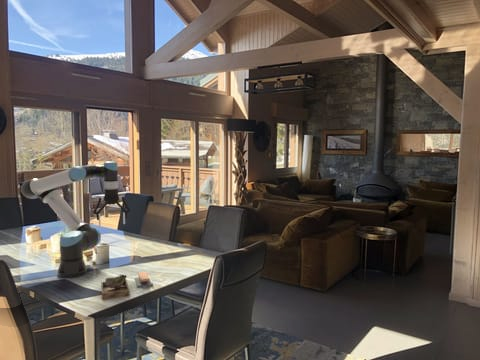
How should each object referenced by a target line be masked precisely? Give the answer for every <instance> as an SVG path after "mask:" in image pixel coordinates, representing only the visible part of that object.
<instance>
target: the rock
mask: <svg viewBox="0 0 480 360" xmlns="http://www.w3.org/2000/svg"><path fill="white" fill-rule="evenodd" d="M127 277H128V276H127V275H126V274H120V275H119V276H115V277H106V278H105V281H104V282H105V283H104V285H105V286H108V287H110V288H115V289H116V288H120V287H121V286H122V284H123V282H124V281H125V279H127Z"/></svg>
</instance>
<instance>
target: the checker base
mask: <svg viewBox="0 0 480 360" xmlns="http://www.w3.org/2000/svg"><path fill="white" fill-rule="evenodd" d="M148 277H149V281H142V282H141V281H140V278H139V277H134V281H135V286H136V288H137V289H139V287H140V288H146V287H147V286H148V287H154V283H153V280H152V278H151V276H150V274H148Z"/></svg>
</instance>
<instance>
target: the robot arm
mask: <svg viewBox="0 0 480 360" xmlns="http://www.w3.org/2000/svg"><path fill="white" fill-rule="evenodd" d="M118 174H119V166H118V162H117V161H104V162H103V164H87V165H76V166H72V167H71V168H70V169H66V170H63V171H60V172H56V173H54V174H50V175H47V176H44V177H41V178H31V179H28V180H25V181H23V183H22V185H21V187H20V192H21V194H22V196H24V197H25V198H27V199H30V200H33V199H40V201H42V203H44V204H48V205H49V207H50V208H51V210H52V211H54V213H55V214H56V215H57V216H58V218H59V219H60V220H61V222H62V223H63V224H64V225H65V226H66V228H67V229H68V230H69V231H67V232H64V233H62V234H61V235H60V237H59V249H60V250H59V251H60V252H59V254H60V263H59V266H58V269H57V277H59V278H63V279H72V278H78V277H82V276H83V275H85V274H86V273H87V272H88V270H87V266H86V263H85V260H84V252H87V251H88V250H90V249H93V248H95V247H96V246H99V244H100V243H101V239H102V235H101V232H100V230H99V229H98V228H97V227H92V226H90V224H89V223H87V222H84V221H83V220H82V219H81V217H80V216H79V215H78V214H77V213H76V212H75V210H74V209H73V208H72V207H71V206H70V205H69V203H68V202H67V201H66V200H65V199H64V197H63V196H62V195H61V192H62V191H61V187H63V186H66V185H69V184H73V183H76V182H80V181H83V180H90V179H95V178H96V179H97V178H99V179H101V178H102V179H103V183H104V184H103V185H104V189H103V191H104V193H103V194H104V197H102V196H99V197H98V200H97V203H96V205H95V207H94V209H93V211H92V213H93V214H94V215H96V220H97V221H98V227H99V226H100V227H101V212H102V211H103V210H104V209H105V208H106V206H107V205H109V206H111V205H117V206H118V207H119V208H120V209H121V210H122V211H123V213H122V214H123V215H122V217H123V218H122V221H123V223H122V224H123V225H126V219H128V213H130V212H131V209H130V208H129V206H128V204H127V203H126V202H127V201H126V200H125V197H124V195H122V196H119V189H118V188H119V175H118ZM103 200H104V203H103V204H102V205H101V203H102V201H103ZM119 200H120V201H121V202H122V203H123V204H124V206H125V208H124V207H123V206H122V204H120V202H119ZM100 205H101V206H100ZM99 206H100V208H99ZM98 208H99V209H98Z"/></svg>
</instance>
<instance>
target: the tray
mask: <svg viewBox="0 0 480 360" xmlns="http://www.w3.org/2000/svg"><path fill="white" fill-rule="evenodd" d="M105 282H106V281H101V282H100V284H101V285H100V286H101V299H102V300H108V299H115V297H116V298H121V297H120V296H123V297H128V295H130V288H129V284H128V280H127V278H126V279H125V281H124V282H123V284H122V286H121V287H120V288H116V289H115V288H110V287H108V286H105V285H104V283H105Z"/></svg>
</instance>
